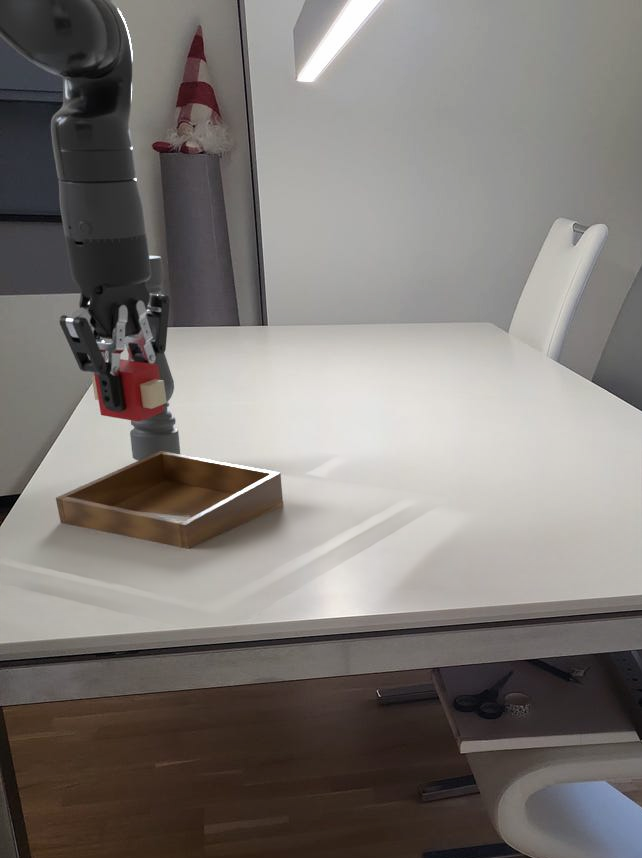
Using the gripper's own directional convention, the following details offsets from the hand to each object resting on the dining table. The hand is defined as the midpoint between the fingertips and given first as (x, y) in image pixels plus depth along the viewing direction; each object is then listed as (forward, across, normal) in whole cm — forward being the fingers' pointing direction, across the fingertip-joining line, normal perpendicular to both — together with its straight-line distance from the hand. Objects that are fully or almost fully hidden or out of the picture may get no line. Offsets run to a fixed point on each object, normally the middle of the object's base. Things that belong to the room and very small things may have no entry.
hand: (130, 403), depth 109 cm
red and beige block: (+1, 0, 0) cm, 1 cm away
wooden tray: (+15, -5, 0) cm, 16 cm away
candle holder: (+15, -21, -16) cm, 31 cm away
